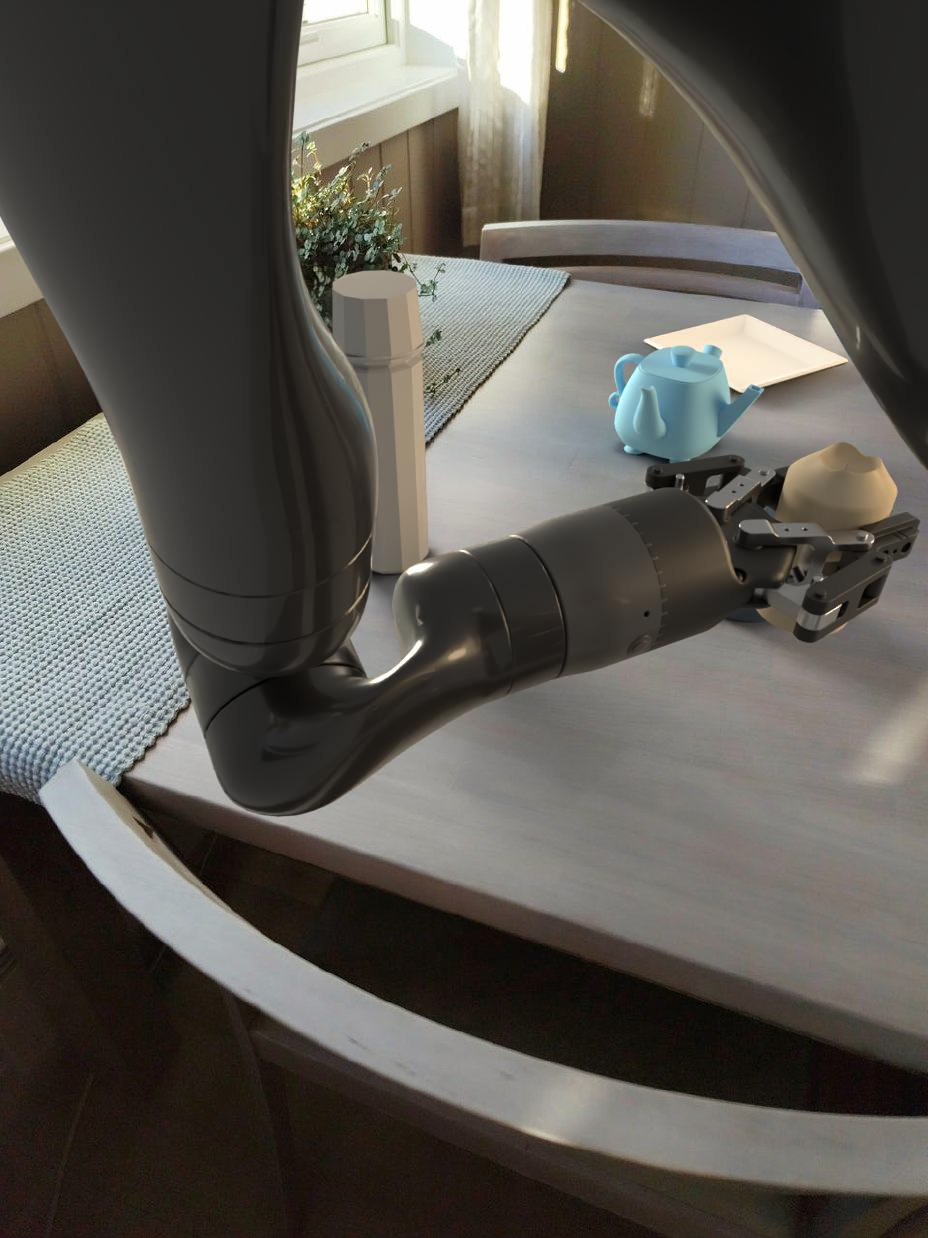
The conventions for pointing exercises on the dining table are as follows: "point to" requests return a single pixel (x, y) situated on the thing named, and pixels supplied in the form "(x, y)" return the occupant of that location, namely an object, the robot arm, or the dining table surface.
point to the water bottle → (390, 403)
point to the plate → (753, 351)
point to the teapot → (676, 402)
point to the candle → (832, 500)
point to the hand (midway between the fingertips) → (864, 502)
